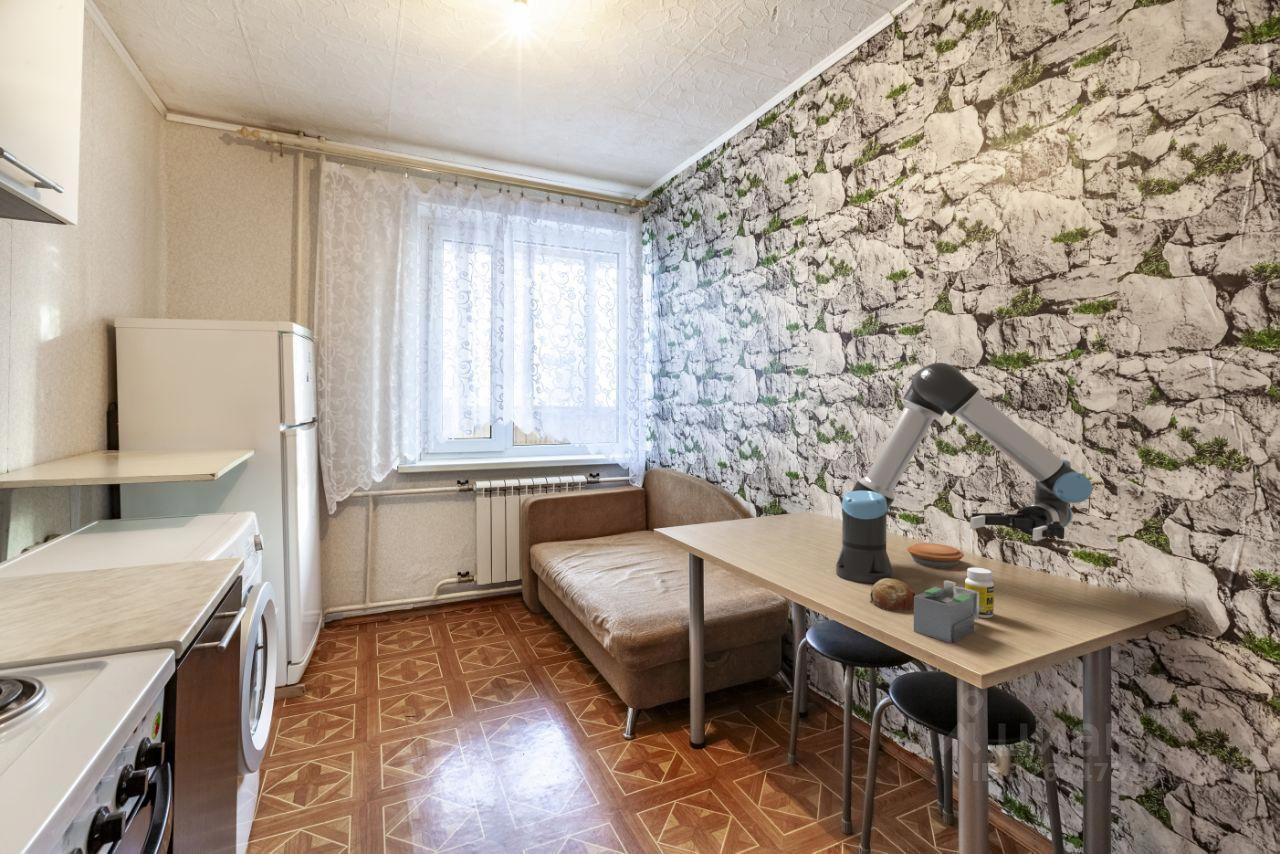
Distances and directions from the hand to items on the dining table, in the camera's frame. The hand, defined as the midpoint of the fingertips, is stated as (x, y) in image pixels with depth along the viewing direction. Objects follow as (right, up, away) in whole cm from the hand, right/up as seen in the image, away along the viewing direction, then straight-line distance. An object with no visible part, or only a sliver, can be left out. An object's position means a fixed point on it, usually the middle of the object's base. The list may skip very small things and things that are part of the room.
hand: (1001, 528), depth 133 cm
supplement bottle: (-9, -19, -6) cm, 22 cm away
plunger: (-18, -18, -12) cm, 28 cm away
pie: (+4, -17, +37) cm, 41 cm away
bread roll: (-26, -19, +2) cm, 32 cm away
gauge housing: (-23, -19, -15) cm, 33 cm away
